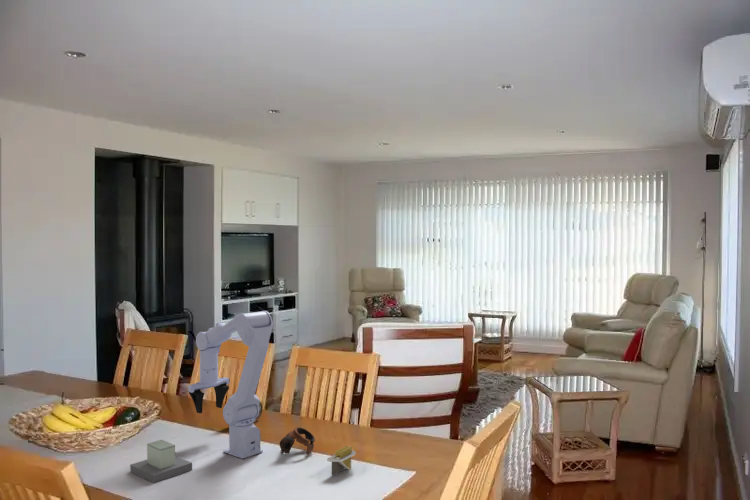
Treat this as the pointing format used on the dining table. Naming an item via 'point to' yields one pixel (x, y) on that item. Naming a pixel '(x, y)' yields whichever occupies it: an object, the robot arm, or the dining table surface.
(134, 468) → the stand
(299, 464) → the dining table surface
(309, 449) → the brown curved band
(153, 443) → the block
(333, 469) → the platform
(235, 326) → the robot arm
